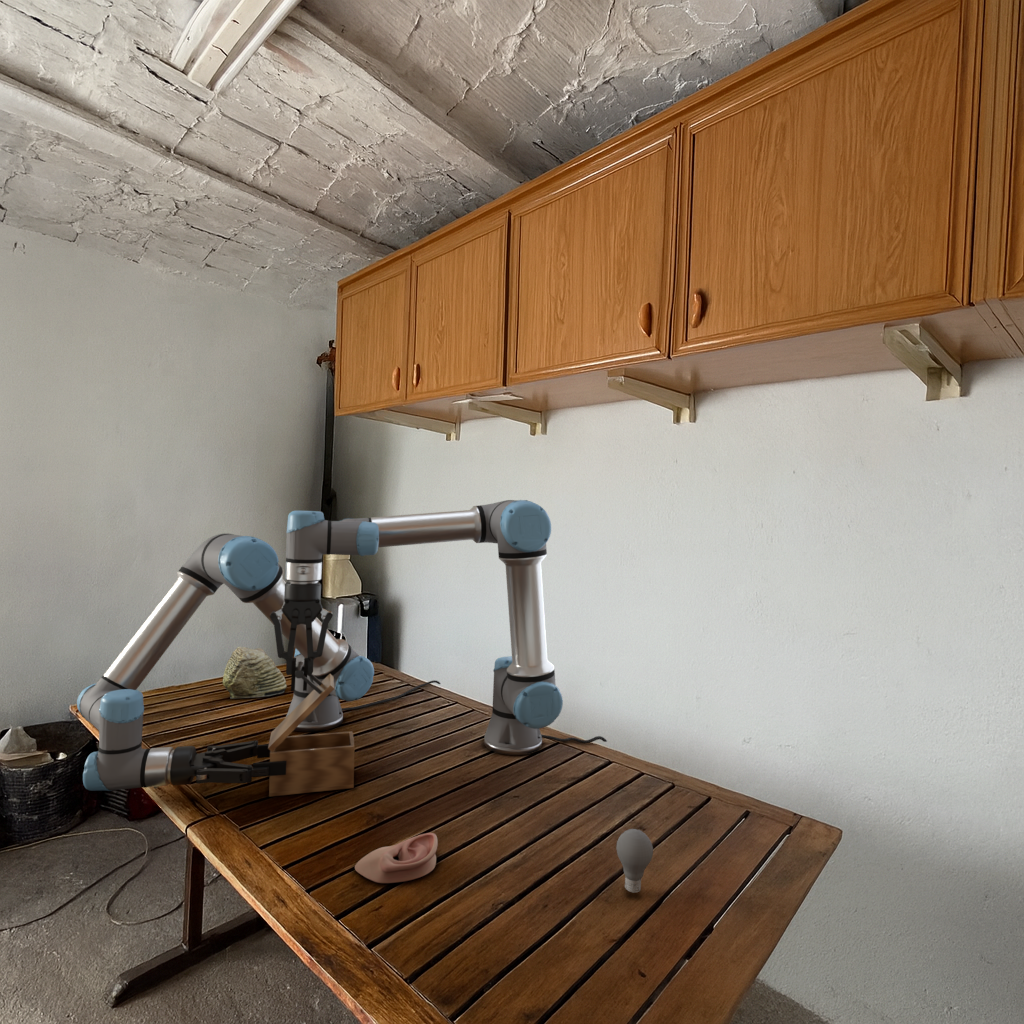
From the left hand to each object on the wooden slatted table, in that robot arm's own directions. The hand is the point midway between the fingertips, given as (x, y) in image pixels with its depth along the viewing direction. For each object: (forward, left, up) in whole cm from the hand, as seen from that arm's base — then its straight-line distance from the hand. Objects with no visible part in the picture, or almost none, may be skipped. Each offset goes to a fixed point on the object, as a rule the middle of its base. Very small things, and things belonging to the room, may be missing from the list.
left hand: (287, 758), depth 138 cm
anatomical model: (+4, +40, -6) cm, 41 cm away
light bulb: (-18, +75, -6) cm, 77 cm away
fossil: (-27, -62, -6) cm, 68 cm away
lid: (-3, +2, +10) cm, 10 cm away
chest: (-4, +3, -6) cm, 8 cm away
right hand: (-1, +1, +15) cm, 15 cm away
